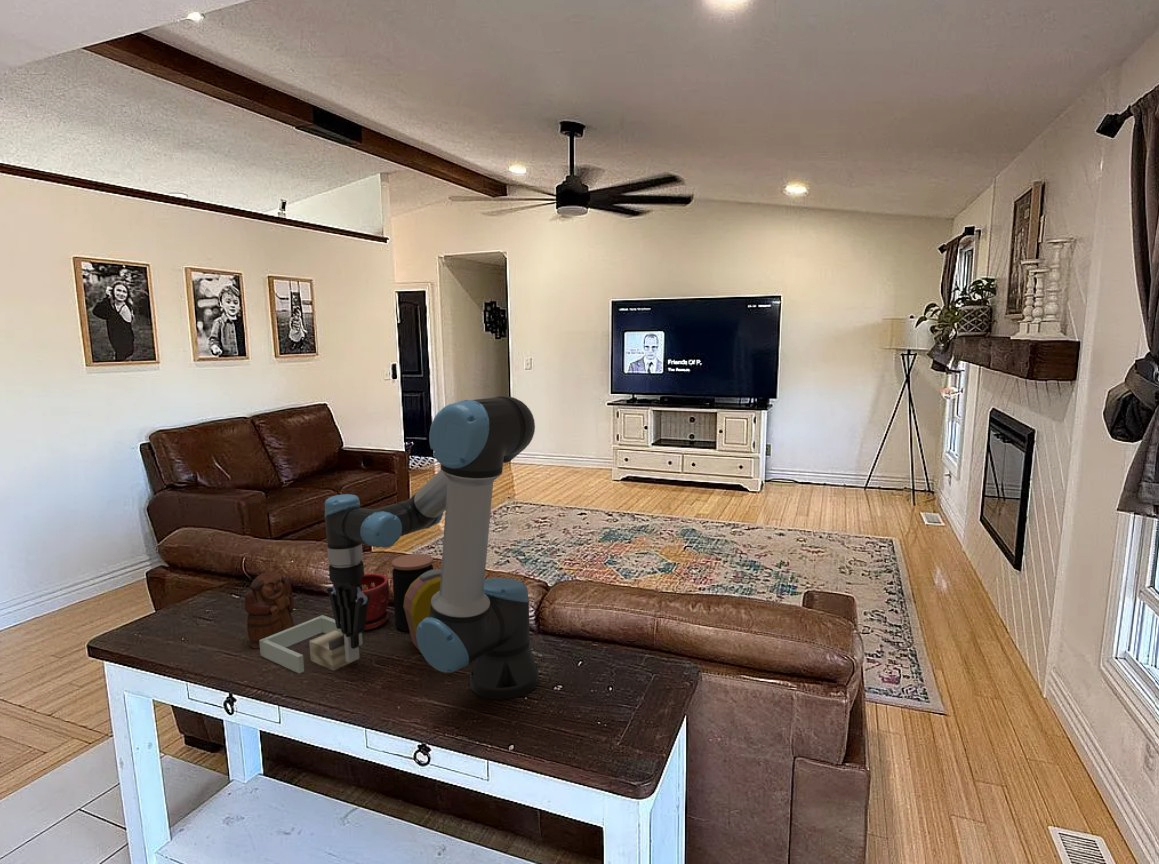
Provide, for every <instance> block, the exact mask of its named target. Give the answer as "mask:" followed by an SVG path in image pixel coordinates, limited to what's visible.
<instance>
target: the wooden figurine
mask: <svg viewBox="0 0 1159 864" xmlns="http://www.w3.org/2000/svg"><path fill="white" fill-rule="evenodd" d="M249 588H250V589H249V590H247V591H246V593H245V595H244V610H245V612H246V613H247V614H248V615H247V619H246V627H247V635H248V639H249V642H250V643H249V644H250V647H251V648H252V649H260V642H259V640H261V639H264V638H266V637H269V636H271V635H274V634H276V633H279V632H281V631H284V630H286V629H289V628H291V627H294V626H295V623H294V619H293V616H292V613H293V612H294V608H295V601H294V596H293V590H292V585H291V581H290V579H289V578H287V577H284V576H283V575H282V574H280V573H278V572H276V571H267V572H263V573H261V574H259V575H258V576H256V577H255V578H254V579H253V580H252V581H251V583H250V585H249Z"/></svg>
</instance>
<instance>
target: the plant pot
mask: <svg viewBox="0 0 1159 864" xmlns="http://www.w3.org/2000/svg"><path fill="white" fill-rule="evenodd" d="M372 583H373V584H374V586H372ZM363 585H364V586H367V589H363V590H362V592H363V593H364V595H365V596H366V595H369V596H370V600H369V603H368V607H367V616H366V625H365V631H366V630H367V631H368V630H371V629H373V628H374V629H376V628H378V627H379V626H382V625H383V624H384V623H385V622H387V620H388V619H389V615H390V613H389V610H387V609H388V605H389V601H390V584H389V578H388V577H387V576H386V575H384V574H380V573H364V577H363V578H362V579H361V586H363Z"/></svg>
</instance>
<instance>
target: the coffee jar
mask: <svg viewBox="0 0 1159 864" xmlns="http://www.w3.org/2000/svg"><path fill="white" fill-rule="evenodd" d="M433 562H434V558H433V557H432V555H429V554H425V553H411V554H405V555H401V556H397V557H396V558H395V559H393V560H392V561H391V566H392V568H393V569H392V575H391V576H392V587H393V588H392V589H393V590H392V591H393V606H394V620H395V621H394V622H395V626H396V627H397V628H398V629H399V630H400V631H401V630H402V632H404V631H405V632H406V633H410V630H409V626H408V622H407V618H406V614H405V610H404V607H403V606H404V599H405V594H406V592H407V590H408V589H409V587H410V585H411V584H412V583H413V582H414V581H415V580H416V579H417V578H418V577H419V576H421V575H422V574H423V573H425V572H427V571H430V570H434V566H433Z"/></svg>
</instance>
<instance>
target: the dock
mask: <svg viewBox="0 0 1159 864" xmlns="http://www.w3.org/2000/svg"><path fill="white" fill-rule="evenodd" d="M340 623H341V622H340ZM334 630H336V631H338V632H341V629H337V627H336V623H335V619H334V618H331V617H329V616H326V615H323V614H321V615H319V616H317V617H314V618H312V619H309V620H306V621H304V622H301V623H298V624H297V625H294V627H291V628H289V629H286V630H284V631H281V632H279V633H276V634H274V635H271V636H269V637H266V638H264V639H261V640H259V642H260V648H259V650H260V651H259V652H260V657H263V658H265V659H267V660H269V661H271V662H273V663H276V664H278V665H280V666H283V667H284V668H286V669H288V670H290V671H293V672H295V673H297V674H299V675H300V674H302V673H304V672H305V667H304V666H305V662H304V655H303V654H302V653H299V652H297V651H294V650H292V649H289V647H291V646H293V645H296V644H298V643H300V642H303V641H304V640H307V639H310V638H312V637H315V636H317V635H319V634H321V633H323V634H327V633H329V632H332V631H334ZM341 633H342V632H341ZM362 645H363V632H362V633H360V634H359V647H360V646H362Z"/></svg>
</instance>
